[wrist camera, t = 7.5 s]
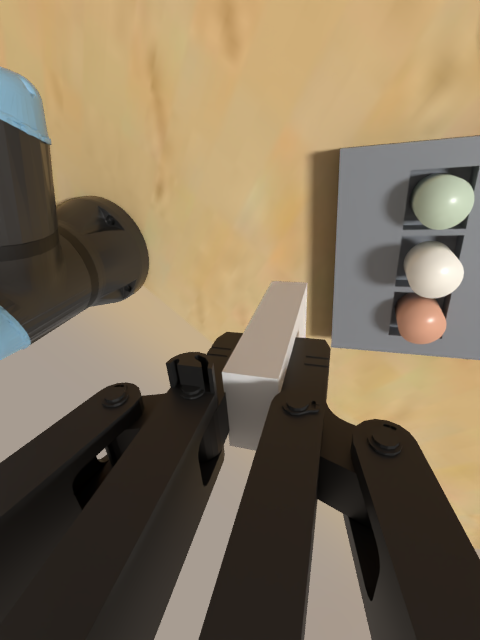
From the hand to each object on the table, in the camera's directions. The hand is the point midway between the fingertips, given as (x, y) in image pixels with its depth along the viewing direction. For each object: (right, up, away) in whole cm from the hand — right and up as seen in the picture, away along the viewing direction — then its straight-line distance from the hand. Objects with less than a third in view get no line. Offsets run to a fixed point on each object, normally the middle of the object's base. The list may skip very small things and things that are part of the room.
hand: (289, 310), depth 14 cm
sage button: (+17, +12, +17) cm, 27 cm away
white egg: (+17, +5, +19) cm, 26 cm away
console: (+18, +7, +21) cm, 29 cm away
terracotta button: (+18, +1, +23) cm, 29 cm away
